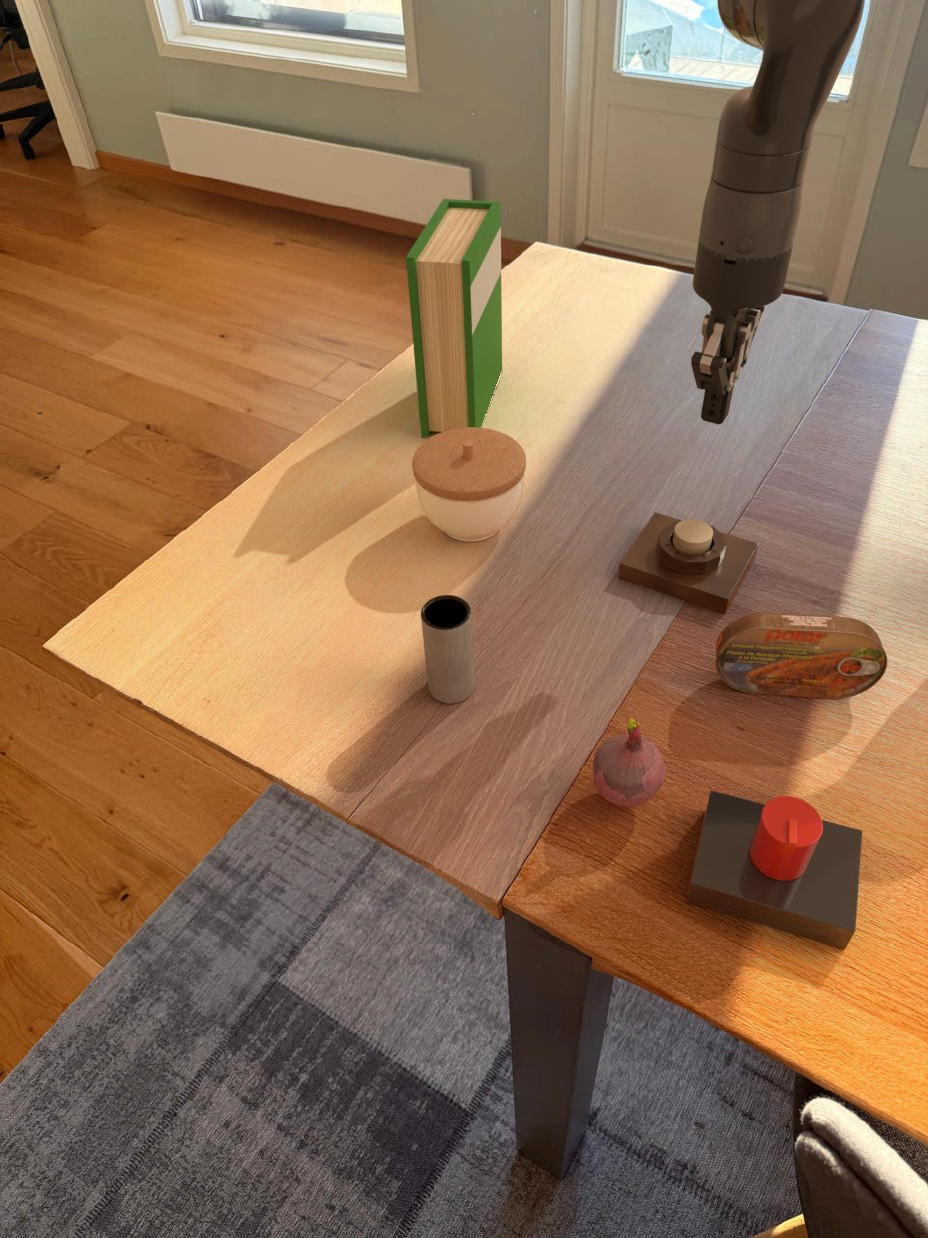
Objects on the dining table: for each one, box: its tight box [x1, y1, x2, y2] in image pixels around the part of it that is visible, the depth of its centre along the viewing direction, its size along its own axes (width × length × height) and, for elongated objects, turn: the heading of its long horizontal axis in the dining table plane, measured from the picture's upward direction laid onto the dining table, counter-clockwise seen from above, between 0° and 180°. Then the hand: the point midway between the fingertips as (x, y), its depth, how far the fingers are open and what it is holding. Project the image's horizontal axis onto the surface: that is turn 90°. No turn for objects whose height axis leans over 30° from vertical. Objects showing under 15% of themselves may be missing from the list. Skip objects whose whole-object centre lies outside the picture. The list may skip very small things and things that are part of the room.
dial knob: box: [750, 795, 823, 881], centre depth 69 cm, size 4×4×5 cm
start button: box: [673, 518, 713, 555], centre depth 96 cm, size 4×4×2 cm
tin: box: [715, 612, 888, 700], centre depth 84 cm, size 15×3×8 cm, turn 82°
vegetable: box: [592, 718, 666, 808], centre depth 75 cm, size 6×6×10 cm
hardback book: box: [405, 198, 503, 438], centre depth 117 cm, size 18×7×24 cm, turn 167°
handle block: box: [685, 789, 864, 951], centre depth 72 cm, size 12×9×3 cm
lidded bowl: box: [411, 427, 527, 543], centre depth 103 cm, size 13×13×11 cm
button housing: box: [617, 512, 759, 615], centre depth 98 cm, size 12×10×4 cm
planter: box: [420, 594, 475, 705], centre depth 85 cm, size 4×4×10 cm
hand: (713, 418), depth 86 cm, fingers closed
